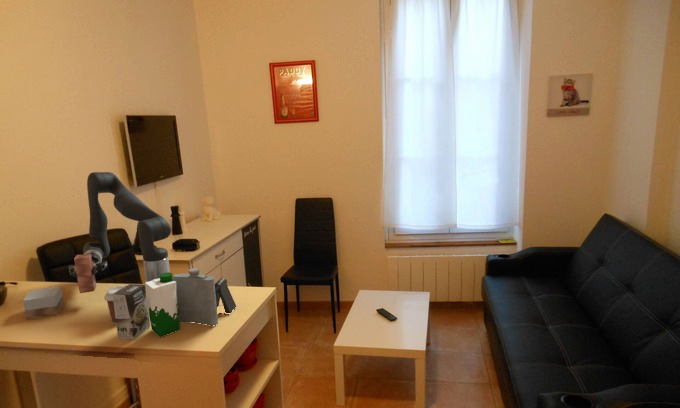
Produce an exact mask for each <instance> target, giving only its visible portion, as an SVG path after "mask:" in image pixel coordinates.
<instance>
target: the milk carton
mask: <svg viewBox="0 0 680 408" xmlns="http://www.w3.org/2000/svg"><path fill="white" fill-rule="evenodd" d="M144 285H145V287H146V296H147V304H148V312H149V320H150V327H151V331H152V330H153V331H154V332H155V333H156V334H157V335H158V336H159V337H160V338H162V337H161V336H163V337H165V336H164V335H166V336H168V335H167V334H169V335H171V334H170V333H172V332H174V333H176V332H175V331H177V332H179V331H178V330H180V331H181V325H180V324H181V322H179V312H178V303H177V293H176V282H175V280H174V278H173V273H172V272H170V273H163V274H161V275H160V278H159V279H154V280H152V281H149V282H146V281H145V282H144ZM153 331H152V332H153ZM154 332H153V333H154ZM156 334H155V335H156ZM172 334H173V333H172ZM157 335H156V336H157ZM158 336H157V337H158ZM159 337H158V338H159Z"/></svg>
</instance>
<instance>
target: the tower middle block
mask: <svg viewBox="0 0 680 408" xmlns="http://www.w3.org/2000/svg"><path fill="white" fill-rule="evenodd" d="M61 297H62V298H63V292H62V287H61V286H53V287H46V288H40V289H33V290H30V291H29V292H28V293H27V295H26V296H25V298H24V299H23V300H22V302H23V306H24V312H25V311H26V310H33V309H39V308H46V307H52V306H57V304H58V302H59V300H60V299H61Z"/></svg>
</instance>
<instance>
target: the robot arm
mask: <svg viewBox="0 0 680 408" xmlns="http://www.w3.org/2000/svg"><path fill="white" fill-rule="evenodd" d="M86 180H87V182H86V189H87V199H88V207H89V208H88V209H89V227H88V235H89V237H90V238H92V239H95V240H98V241H88V242H86V243H85V244H84V245H83V248H82V249H83V251H82V252H83V254H89V253H91V256H92V263H93V267H92V269H91V274H92V275H96V274H97V273H98V271H99V272H102V271H104V270H105V269H107V267H108V262H107V260H103V259H104V258H107V257H109V255H110V252H111V246H110V244H109V243H110V242H109V240H108V234H107V233H108V222H109V221H108V217H107V215H106V213H105V211H104V209H103V208H102V206H101V204H100V201H99V194H112V195H114V197H113V206H114V207H113V208H115V210H117V212H119V213H120V215H121V216H122V217H124V218H126V219H129V220H132V221H136V222H138V224H137V234H138V235H137V236H138V240H139V246H140V247H139V248H140V252H141V255H142V261H143V269H144V276H145V282H149V281H152V280H154V279H159V278H160V275H161V274H163V273H171V270H170V269H171V268H170V262H169V252H168V250H167V249H166V248H164V247H157V246H155V242H158V241H163V240H165V239H168V237H170V235H171V233H172V230H171V225H170V224H169V222H168V221H167V219H165V218H164V217H163V216H162V215H160V214H158V212H156V211H154V210H152V209H151V208H150V207H149V206H148V205H146V204H145V203H144V202H143V201H142V200H141V199H140V198H139V197H138V196H136V195H135V194H134V193H133V192H132V191H131V190H130V189H128V188H127V187H126V185H125V184H124V183H123V182H122V181H121V180H120V179H119V177H118V176H117V175H116V174H114V173H113V172H109V171H106V172H105V171H103V172H102V171H96V172H95V171H94V172H90V173H89V174H88V176H87V179H86ZM68 270H69V271H68V272H69V275H70V276H73V278H75V279H77V273H76V268H75V265H71V264H70V265H68Z"/></svg>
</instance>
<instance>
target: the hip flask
mask: <svg viewBox="0 0 680 408" xmlns="http://www.w3.org/2000/svg"><path fill="white" fill-rule="evenodd" d="M172 276H173V279H174V280H175V282H176V293H177V303H178V312H179V322H180V323H181V322H195V323H201V324H200V325H202V324H207V325H210V326H213V325H216V324H218V325H219V319H218V318H219V317H218V314H217V305H216V294H215V283H216V281H215V277H214V276H210V275H205V274H202V273H200V268H198V267H194V268H193V267H192V268H190V269H188V273H176V274H172ZM195 323H194V324H195ZM210 326H209V327H210Z"/></svg>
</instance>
